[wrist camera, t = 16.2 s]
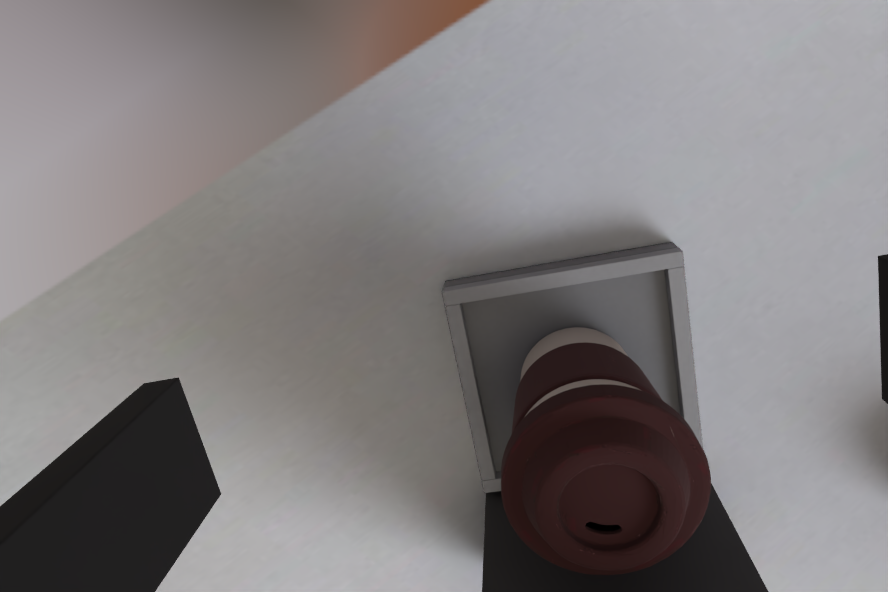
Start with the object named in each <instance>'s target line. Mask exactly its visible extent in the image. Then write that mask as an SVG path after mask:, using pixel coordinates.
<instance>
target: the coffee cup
mask: <svg viewBox="0 0 888 592" xmlns="http://www.w3.org/2000/svg"><path fill="white" fill-rule="evenodd" d="M710 492H711V477H710V470H709V465H708V461H707V458H706V455H705V453H704V450H703V449H702V447H701V445H700V443H699V441H698V439H697V438H696V436H695V434H694V432H693V430H692V429H691V427H690V426H689V424H688V423H687V422H686V421H685V420H684V418H683V417H682V416H681V415H680V414H679V413H678V412H677V411H676V410H674V409H673V408H672V407H671V406H670V405H668V404H667V403H665V402H664V401H663V400H662V398H661V397H660V396H659V394H658V393H657V391H656V390H655V388H654V387H653V385H652V384H651V383H650V381H649V380H648V378H647V377H646V375H645V374H644V373H643V371H642V370H641V369H640V367H639V366H638V365H637V364H636V363H635V362H634V361H633V360H632V359H631V358H629V357H628V356H627V354H626V353H625V351H624V350H623V349H622V347H621V346H620V345H619V344H618V343H617V342H616V341H615V340H614V339H612V338H611V337H609V336H608V335H606V334H604V333H602V332H599V331H597V330H594V329H589V328H583V327H573V328H565V329H562V330H558V331H555V332H553V333H551V334H549V335H547V336H546V337H544V338H543V339H541V340H540V341H539V342H538V343H537V344H536V345H535V346H534V347H533V348H532V349H531V351H530V352H529V354H528V355H527V357H526V359H525V361H524V364H523V367H522V371H521V380H520V384H519V386H518V389H517V393H516V398H515V406H514V416H513V425H512V434H511V437H510V439H509V441H508V443H507V445H506V448H505V451H504V454H503V458H502V465H501V496H502V502H503V507H504V510H505V512H506V515H507V517H508V520H509V522H510V524H511V526H512V527H513V529H514V530H515V532H516V533H517V535H518V536H519V537H520V538H521V539H522V541H523V542H524V543H525V544H526V545H527V546H528V547H529V548H530V549H531V550H533V551H534V552H535V553H536V554H538V555H539V556H541V557H542V558H544V559H546V560H547V561H549V562H551V563H553V564H555V565H557V566H560V567H562V568H565V569H568V570H571V571H575V572H579V573H584V574H591V575H616V574H625V573H630V572H634V571H638V570H641V569H644V568H647V567H650V566H652V565H654V564H656V563H658V562H660V561H662V560H664V559H665V558H667V557H669V556H670V555H671V554H673V553H674V552H675V551H677V550H678V549H679V548H680V547H682V546H683V545H684V544H685V543H686V541H687V540H688V539H689V538H690V537H691V536H692V535H693V533H694V532H695V531H696V529H697V527H698V526H699V524H700V523H701V521H702V519H703V517H704V515H705V512H706V509H707V507H708V502H709V497H710Z"/></svg>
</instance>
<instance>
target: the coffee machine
mask: <svg viewBox="0 0 888 592" xmlns="http://www.w3.org/2000/svg"><path fill="white" fill-rule="evenodd" d="M442 295H443V299H444V304H445V309H446V313H447V318H448V323H449V328H450V332H451V337H452V342H453V347H454V351H455V356H456V361H457V366H458V370H459V375H460V380H461V385H462V389H463V394H464V399H465V404H466V408H467V413H468V418H469V423H470V427H471V432H472V437H473V442H474V446H475V451H476V456H477V461H478V465H479V470H480V475H481V479H482V484H483V489H484V493H486V505H485V531H484V557H483V583H482V592H768V590H767V588H766V587H765V585H764V583H763V581H762V579H761V577H760V575H759V573H758V571H757V569H756V567H755V566H754V564H753V562H752V560H751V558H750V556H749V554H748V552H747V550H746V548H745V547H744V545H743V543H742V541H741V539H740V537H739V535H738V533H737V531H736V529H735V528H734V526H733V524H732V522H731V520H730V518H729V516H728V514H727V512H726V510H725V509H724V507H723V505H722V503H721V501H720V499H719V497H718V495H717V493H716V491H715V490H714V488H713V486H712V484H711V492H710V497H709V502H708V507H707V509H706V512H705V515H704V517H703V519H702V521H701V523H700V524H699V526H698V527H697V529H696V531H695V532H694V533H693V535H692V536H691V537H690V538H689V539H688V540H687V541H686V543H685V544H684V545H683V546H682V547H680V548H679V549H678V550H677V551H675V552H674V553H673V554H671V555H670V556H669V557H667V558H665V559H664V560H662V561H660V562H658V563H656V564H654V565H652V566H650V567H647V568H644V569H641V570H638V571H634V572H630V573H625V574H616V575H591V574H584V573H579V572H575V571H571V570H568V569H565V568H562V567H560V566H557V565H555V564H553V563H551V562H549V561H547V560H546V559H544V558H542V557H541V556H539V555H538V554H536V553H535V552H534V551H533V550H531V549H530V548H529V547H528V546H527V545H526V544H525V543H524V542H523V541H522V539H521V538H520V537H519V536H518V535H517V533H516V532H515V530H514V529H513V527H512V526H511V524H510V522H509V520H508V517H507V515H506V512H505V510H504V507H503V502H502V496H501V465H502V458H503V454H504V451H505V448H506V445H507V443H508V441H509V439H510V437H511V434H512V425H513V416H514V406H515V398H516V393H517V389H518V386H519V384H520V380H521V371H522V367H523V364H524V361H525V359H526V357H527V355H528V354H529V352H530V351H531V349H532V348H533V347H534V346H535V345H536V344H537V343H538V342H539V341H540V340H541V339H543V338H544V337H546V336H547V335H549V334H551V333H553V332H555V331H558V330H562V329H565V328H573V327H583V328H589V329H594V330H597V331H599V332H602V333H604V334H606V335H608V336H609V337H611V338H612V339H614V340H615V341H616V342H617V343H618V344H619V345H620V346H621V347H622V349H623V350H624V351H625V353H626V354H627V356H628V357H629V358H631V359H632V360H633V361H634V362H635V363H636V364H637V365H638V366H639V367H640V369H641V370H642V371H643V373H644V374H645V375H646V377H647V378H648V380H649V381H650V383H651V384H652V385H653V387H654V388H655V390H656V391H657V393H658V394H659V396H660V397H661V398H662V400H663V401H664V402H665V403H667V404H668V405H670V406H671V407H672V408H673V409H674V410H676V411H677V412H678V413H679V414H680V415H681V416H682V417H683V418H684V420H685V421H686V422H687V423H688V424H689V426H690V427H691V429H692V430H693V432H694V434H695V436H696V438H697V439H698V441H699V443H700V445H701V447H702V449H703V444H702V434H701V424H700V415H699V405H698V395H697V385H696V376H695V366H694V356H693V347H692V337H691V327H690V317H689V308H688V298H687V288H686V279H685V269H684V259H683V251H682V250H681V249H680V248H678V247H677V246H676V245H675V244H674V243H673V242H670V243H665V244H659V245H653V246H647V247H641V248H635V249H630V250H624V251H618V252H612V253H606V254H601V255H595V256H589V257H583V258H577V259H572V260H566V261H560V262H554V263H548V264H542V265H537V266H531V267H525V268H519V269H513V270H508V271H502V272H496V273H490V274H484V275H479V276H473V277H467V278H461V279H455V280H449V281H445V284H444V288H443V291H442Z"/></svg>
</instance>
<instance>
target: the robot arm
mask: <svg viewBox="0 0 888 592" xmlns="http://www.w3.org/2000/svg"><path fill="white" fill-rule="evenodd" d="M878 271H879V307H880V342H881V378H882V399H883V400H884V401H885V402H886V403H887V404H888V254H887V255H881V256H878ZM220 495H221V492H220V489H219V487H218V484H217V481H216V479H215V476H214V473H213V470H212V468H211V465H210V462H209V459H208V457H207V454H206V451H205V448H204V446H203V443H202V440H201V438H200V435H199V432H198V429H197V427H196V424H195V421H194V418H193V416H192V413H191V410H190V407H189V405H188V402H187V399H186V397H185V394H184V391H183V388H182V386H181V383H180V380H179V378H173V379H167V380H161V381H156V382H150V383H144V384H143V385H142V386H140V387H139V388H138V389H137V390H136V391H135V392H133V393H132V394H131V395H130V396H129V397H128V398H126V399H125V400H124V401H123V402H122V403H121V404H119V405H118V406H117V407H116V408H115V409H114V410H112V411H111V412H110V413H109V414H108V415H107V416H105V417H104V418H103V419H102V420H101V421H100V422H98V423H97V424H96V425H95V426H94V427H93V428H91V429H90V430H89V431H88V432H87V433H86V434H84V435H83V436H82V437H81V438H80V439H79V440H77V441H76V442H75V443H74V444H73V445H72V446H70V447H69V448H68V449H67V450H66V451H65V452H63V453H62V454H61V455H60V456H59V457H58V458H56V459H55V460H54V461H53V462H52V463H51V464H49V465H48V466H47V467H46V468H45V469H44V470H42V471H41V472H40V473H39V474H38V475H37V476H35V477H34V478H33V479H32V480H31V481H30V482H28V483H27V484H26V485H25V486H24V487H23V488H21V489H20V490H19V491H18V492H17V493H16V494H14V495H13V496H12V497H11V498H10V499H8V500H7V501H6V502H5V503H4V504H3V505H1V506H0V592H155V591H156V589H157V588H158V586H159V585H160V583H161V582H162V581H163V579H164V578H165V576H166V575H167V573H168V572H169V570H170V569H171V567H172V566H173V564H174V563H175V561H176V560H177V558H178V557H179V555H180V554H181V552H182V551H183V550H184V548H185V547H186V545H187V544H188V542H189V541H190V539H191V538H192V536H193V535H194V533H195V532H196V530H197V529H198V527H199V526H200V524H201V523H202V522H203V520H204V519H205V517H206V516H207V514H208V513H209V511H210V510H211V508H212V507H213V505H214V504H215V502H216V501H217V499H218V498H219V496H220Z"/></svg>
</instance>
